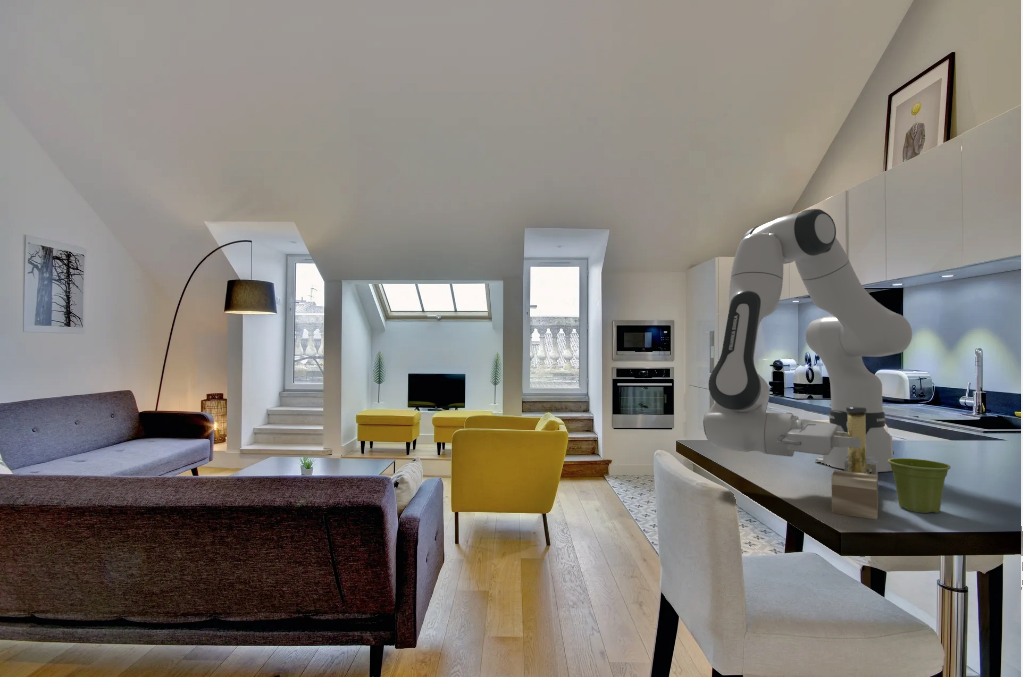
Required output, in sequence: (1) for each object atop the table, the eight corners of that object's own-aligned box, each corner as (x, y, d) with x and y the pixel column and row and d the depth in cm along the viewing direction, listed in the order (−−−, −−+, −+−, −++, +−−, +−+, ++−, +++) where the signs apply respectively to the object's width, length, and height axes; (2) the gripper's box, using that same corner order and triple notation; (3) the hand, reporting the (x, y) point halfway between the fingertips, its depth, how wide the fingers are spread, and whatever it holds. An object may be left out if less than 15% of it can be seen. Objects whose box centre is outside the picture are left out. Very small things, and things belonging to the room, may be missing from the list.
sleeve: (848, 480, 124) (847, 454, 124) (877, 483, 121) (877, 456, 121) (844, 489, 116) (844, 461, 116) (876, 493, 112) (875, 464, 112)
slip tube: (852, 479, 119) (851, 401, 119) (870, 481, 117) (869, 402, 117) (845, 500, 103) (843, 410, 103) (866, 503, 101) (865, 411, 101)
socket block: (835, 505, 105) (834, 470, 105) (878, 511, 101) (877, 474, 101) (831, 512, 100) (831, 476, 100) (877, 519, 96) (876, 481, 96)
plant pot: (890, 499, 108) (890, 455, 109) (951, 507, 103) (950, 461, 103) (886, 510, 101) (885, 463, 101) (951, 520, 95) (950, 470, 95)
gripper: (774, 425, 106) (858, 431, 98) (791, 414, 122) (864, 419, 114) (774, 457, 106) (859, 466, 98) (791, 442, 122) (864, 449, 114)
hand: (861, 441), depth 106 cm, fingers closed on slip tube, 3 cm apart
